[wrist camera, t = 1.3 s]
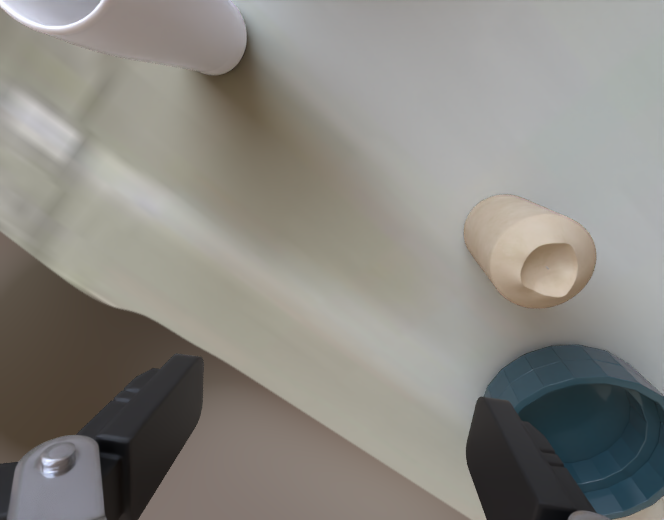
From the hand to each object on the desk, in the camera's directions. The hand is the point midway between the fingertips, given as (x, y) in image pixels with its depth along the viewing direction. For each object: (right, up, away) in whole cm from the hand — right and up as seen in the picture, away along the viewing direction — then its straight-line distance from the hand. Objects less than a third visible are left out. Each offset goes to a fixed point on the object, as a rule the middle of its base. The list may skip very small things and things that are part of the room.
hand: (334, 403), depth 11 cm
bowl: (+20, -9, +22) cm, 31 cm away
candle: (+13, +7, +18) cm, 23 cm away
